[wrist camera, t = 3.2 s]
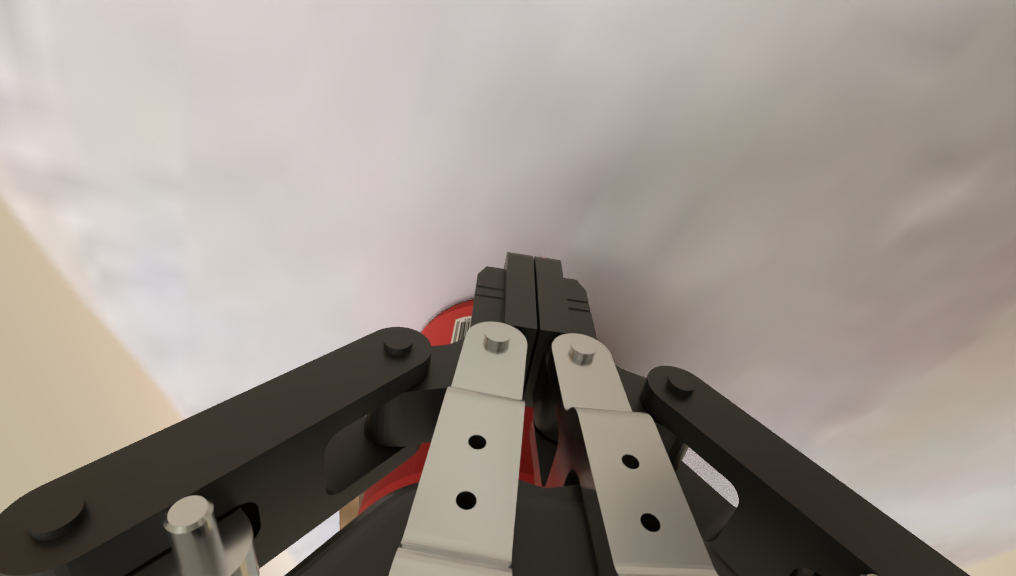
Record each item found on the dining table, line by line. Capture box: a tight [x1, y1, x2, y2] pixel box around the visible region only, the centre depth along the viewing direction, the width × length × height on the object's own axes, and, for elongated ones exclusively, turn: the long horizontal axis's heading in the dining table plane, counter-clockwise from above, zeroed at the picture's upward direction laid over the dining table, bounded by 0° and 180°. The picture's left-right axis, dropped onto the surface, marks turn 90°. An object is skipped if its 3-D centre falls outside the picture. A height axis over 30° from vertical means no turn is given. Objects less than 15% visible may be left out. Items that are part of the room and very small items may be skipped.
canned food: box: [357, 300, 535, 516], centre depth 19 cm, size 8×8×11 cm
